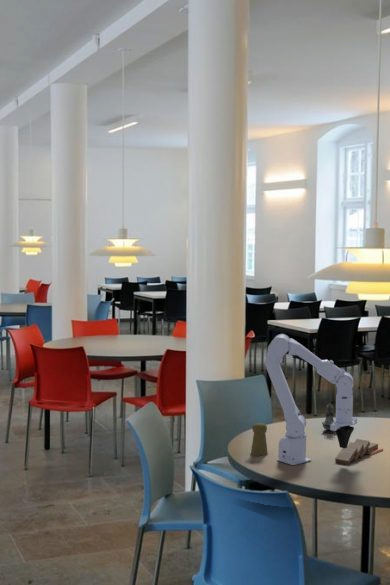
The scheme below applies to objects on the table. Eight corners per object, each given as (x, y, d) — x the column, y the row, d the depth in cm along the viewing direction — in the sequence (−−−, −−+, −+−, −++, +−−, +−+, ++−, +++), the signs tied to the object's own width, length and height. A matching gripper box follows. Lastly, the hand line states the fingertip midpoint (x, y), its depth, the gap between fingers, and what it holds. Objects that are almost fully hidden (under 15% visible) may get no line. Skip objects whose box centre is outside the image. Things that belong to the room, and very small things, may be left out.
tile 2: (355, 457, 285) (363, 444, 292) (342, 455, 288) (350, 442, 294) (355, 461, 286) (363, 447, 292) (342, 459, 288) (350, 445, 295)
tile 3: (360, 454, 289) (369, 440, 295) (348, 452, 292) (356, 438, 298) (361, 458, 290) (369, 444, 296) (348, 456, 292) (357, 442, 299)
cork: (266, 451, 298) (267, 421, 297) (268, 456, 292) (269, 425, 291) (250, 451, 298) (250, 421, 297) (251, 456, 291) (252, 425, 291)
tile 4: (368, 448, 294) (377, 443, 301) (355, 446, 297) (365, 441, 303) (368, 453, 294) (377, 448, 301) (355, 451, 297) (365, 446, 304)
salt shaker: (319, 432, 326) (320, 402, 325) (324, 429, 331) (325, 400, 330) (334, 434, 323) (334, 404, 322) (338, 431, 328) (339, 401, 327)
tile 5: (371, 452, 294) (383, 448, 301) (359, 450, 297) (371, 446, 304) (371, 457, 294) (383, 452, 301) (359, 454, 298) (371, 450, 304)
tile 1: (348, 460, 281) (357, 447, 288) (335, 458, 284) (344, 445, 290) (348, 464, 282) (357, 451, 288) (335, 462, 284) (344, 449, 291)
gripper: (343, 413, 274) (342, 453, 275) (365, 406, 284) (364, 445, 286) (325, 410, 278) (324, 450, 279) (347, 403, 289) (346, 441, 290)
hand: (343, 447), depth 283 cm, fingers closed
